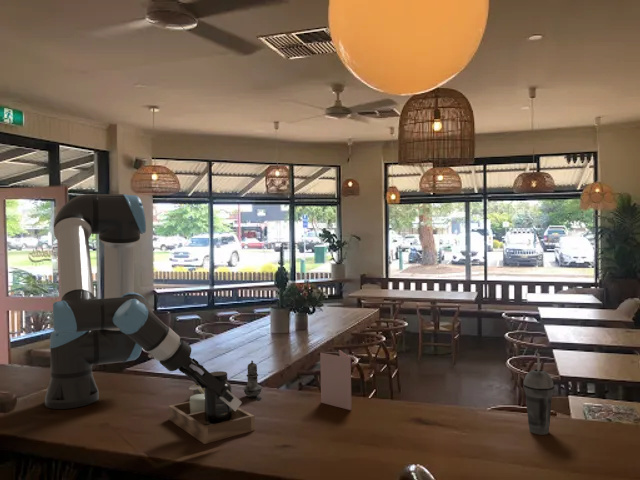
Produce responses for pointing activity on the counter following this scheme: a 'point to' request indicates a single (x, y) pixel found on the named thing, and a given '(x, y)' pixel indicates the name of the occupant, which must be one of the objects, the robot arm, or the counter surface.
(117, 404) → the counter surface
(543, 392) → the beverage cup
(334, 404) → the greeting card
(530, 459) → the counter surface
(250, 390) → the salt shaker
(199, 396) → the pale green dome
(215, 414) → the supplement bottle
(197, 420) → the caddy
